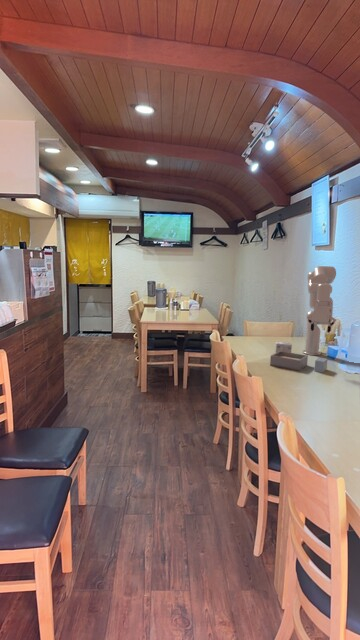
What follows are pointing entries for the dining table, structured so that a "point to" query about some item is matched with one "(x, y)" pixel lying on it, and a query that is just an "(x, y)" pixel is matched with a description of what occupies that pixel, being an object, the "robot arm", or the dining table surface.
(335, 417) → the dining table surface
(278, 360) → the tote
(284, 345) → the light bulb box
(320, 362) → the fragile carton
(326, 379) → the dining table surface
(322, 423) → the dining table surface
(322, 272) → the robot arm
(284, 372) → the dining table surface
